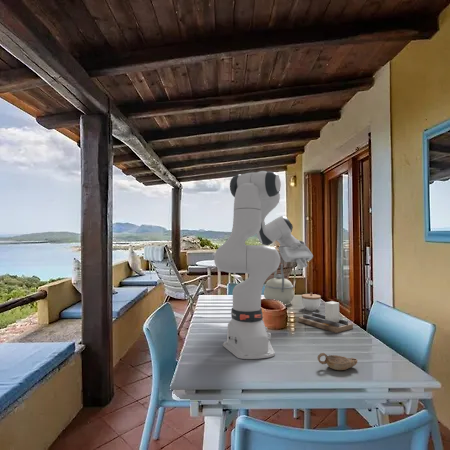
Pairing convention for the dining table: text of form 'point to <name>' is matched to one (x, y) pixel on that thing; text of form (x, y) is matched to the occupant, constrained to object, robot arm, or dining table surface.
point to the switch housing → (325, 322)
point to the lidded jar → (311, 301)
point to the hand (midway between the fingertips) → (305, 266)
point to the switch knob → (332, 311)
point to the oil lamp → (338, 361)
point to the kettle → (279, 288)
